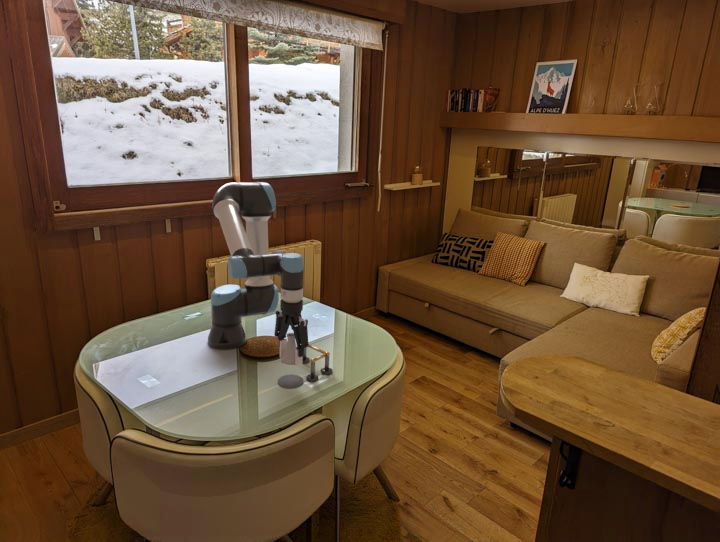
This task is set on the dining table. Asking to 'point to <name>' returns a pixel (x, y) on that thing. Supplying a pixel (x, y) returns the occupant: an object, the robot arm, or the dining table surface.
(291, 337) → the flask
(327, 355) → the wire rail
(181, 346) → the dining table surface
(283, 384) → the pad
